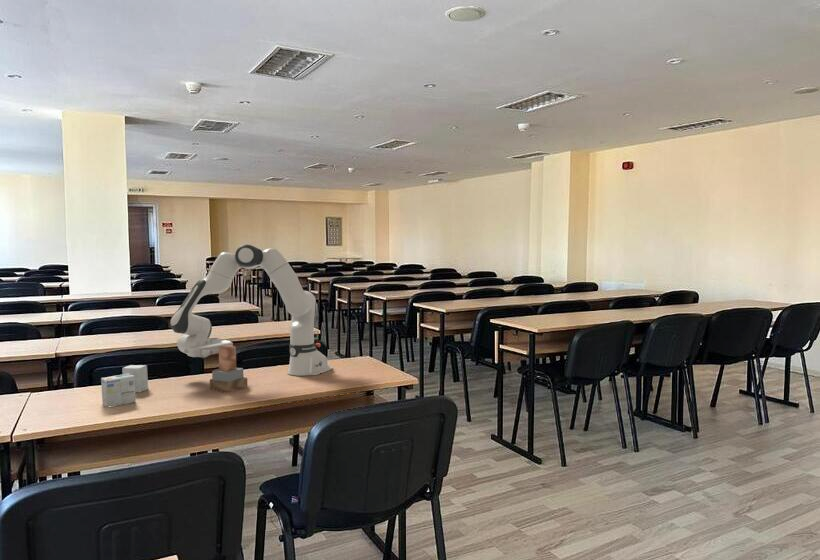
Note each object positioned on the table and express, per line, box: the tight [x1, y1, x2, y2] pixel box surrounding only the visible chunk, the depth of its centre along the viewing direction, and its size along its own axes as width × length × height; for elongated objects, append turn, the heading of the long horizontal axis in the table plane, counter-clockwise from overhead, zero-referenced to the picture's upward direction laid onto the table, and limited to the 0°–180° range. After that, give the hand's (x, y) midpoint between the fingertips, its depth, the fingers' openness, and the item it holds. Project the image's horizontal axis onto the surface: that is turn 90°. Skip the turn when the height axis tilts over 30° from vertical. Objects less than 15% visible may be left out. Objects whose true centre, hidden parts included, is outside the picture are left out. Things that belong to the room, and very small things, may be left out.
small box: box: [121, 364, 149, 393], centre depth 235 cm, size 8×6×10 cm
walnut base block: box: [209, 376, 249, 394], centre depth 239 cm, size 11×11×4 cm
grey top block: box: [211, 367, 245, 382], centre depth 238 cm, size 9×9×4 cm
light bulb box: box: [100, 373, 137, 408], centre depth 216 cm, size 11×7×11 cm, turn 135°
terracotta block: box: [218, 345, 237, 372], centre depth 237 cm, size 5×5×10 cm
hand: (220, 351), depth 240 cm, fingers open, 8 cm apart
